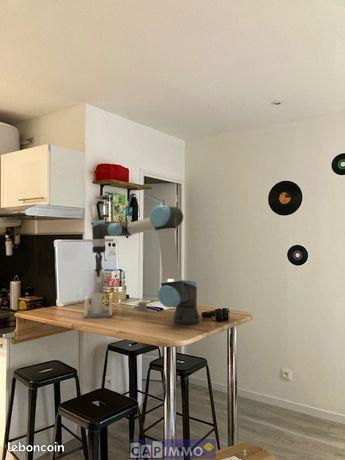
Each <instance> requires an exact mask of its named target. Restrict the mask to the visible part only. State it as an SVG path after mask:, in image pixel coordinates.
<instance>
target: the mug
mask: <svg viewBox="0 0 345 460" xmlns="http://www.w3.org/2000/svg"><path fill="white" fill-rule="evenodd" d="M90 298H91V299H90V300H91V301H90V303H91V307H90V308H91V309H90V310H91V311H92V314H101V313H102V309H103V308H104V309H105V308H106V305H107V297H106V294H105V293H104V294H103V292H92V293H90ZM103 298H104V303H103Z"/></svg>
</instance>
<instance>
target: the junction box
mask: <svg viewBox="0 0 345 460" xmlns="http://www.w3.org/2000/svg"><path fill="white" fill-rule="evenodd" d="M137 303H138V304H137V308H138V311H141V312H143V311H147V301H146V300H145V301H142V300H141V301H138V302H137Z"/></svg>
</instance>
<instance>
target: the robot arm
mask: <svg viewBox="0 0 345 460" xmlns="http://www.w3.org/2000/svg"><path fill="white" fill-rule="evenodd" d="M183 222H184V213H183V210H181V209H180V208H179V207H177V206H171V205H167V204H160V205H156V206H155V207H154V208H152V210H151V211H150V213H149V217H147V218H143V219H139V220H135V221H131V222H128V223H118V222H117V223H116V222H115V223H113V222H112V223H106V221H104V220H93V221H92V225H91V226H92V227H91V230H92V240H91V243H92V253H93V254H96V255H95V269H94V272H95V283H101V281H102V280H103V279H102V278H103V277H102V276H103V275H102V273H103V271H102V270H104V268H103V267H102V262H103V255H102V253H103V254H104V253H105V252H106V237H132V236H133V235H136V234H140V233H145V232H149V231H155V233H156V234H158V243H159V251H160V259H161V261H160V263H161V269H162V271H161V272H162V280H161V281H160V287H159V290H158V294H157V296H158V300H159V302H160V303H161V305H163V307H165V308H175V309H174V314H173V317H172V322H173V323H175V324H178V325H196V324H199V323H201V317H200V313H199V310H198V308H197V307H198V306H197V305H198V303H197V301H198V300H197V299H198V297H197V296H198V295H197V292H198V291H197V290H198V289H197V288H198V287H197V282H196V281H195V280H183V279H182V278H181V277H180V271H179V262H178V261H179V260H178V253H177V244H176V235H175V232H176V231H177V227H179V226H180V225H182V223H183Z"/></svg>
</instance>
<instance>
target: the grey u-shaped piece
mask: <svg viewBox="0 0 345 460" xmlns="http://www.w3.org/2000/svg"><path fill="white" fill-rule="evenodd" d="M83 302H84V305H83V307H84V309H83V311H84V313H83V319H85V320H86V319H87V320H88V319H90V318H92V319H112V318H113V294H110V295H109V299H108V302H109V304H108V305H109V306H108V307H109V308H104V309H103V308H102V313H101V314H92V311H91V309H89V303H90V302H89V295H85V296H84V298H83ZM90 320H91V319H90Z"/></svg>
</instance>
